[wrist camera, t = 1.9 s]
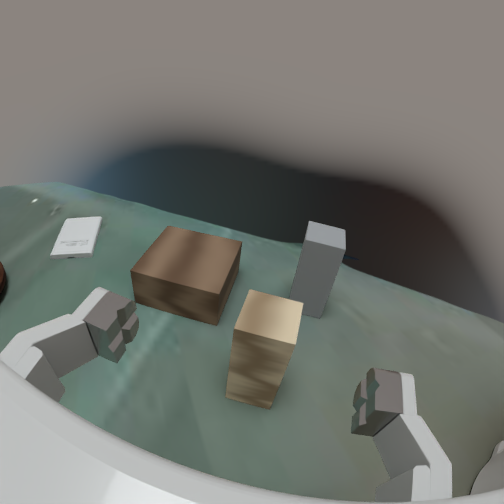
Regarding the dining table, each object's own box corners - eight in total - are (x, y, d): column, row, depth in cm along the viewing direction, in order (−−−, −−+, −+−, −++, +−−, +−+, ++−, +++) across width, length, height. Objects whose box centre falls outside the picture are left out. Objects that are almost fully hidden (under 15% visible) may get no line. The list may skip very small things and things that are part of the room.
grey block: (322, 296, 46) (345, 230, 40) (319, 318, 42) (345, 249, 35) (291, 288, 47) (309, 220, 40) (286, 310, 43) (305, 239, 36)
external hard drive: (102, 223, 57) (92, 259, 47) (66, 225, 54) (51, 262, 45) (101, 216, 56) (91, 252, 46) (65, 218, 53) (49, 254, 44)
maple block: (278, 374, 34) (303, 303, 27) (269, 409, 30) (295, 344, 23) (237, 363, 35) (249, 289, 28) (225, 397, 30) (234, 328, 24)
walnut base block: (238, 273, 49) (242, 241, 46) (216, 327, 39) (219, 294, 36) (169, 256, 50) (168, 225, 47) (135, 303, 40) (130, 270, 37)
